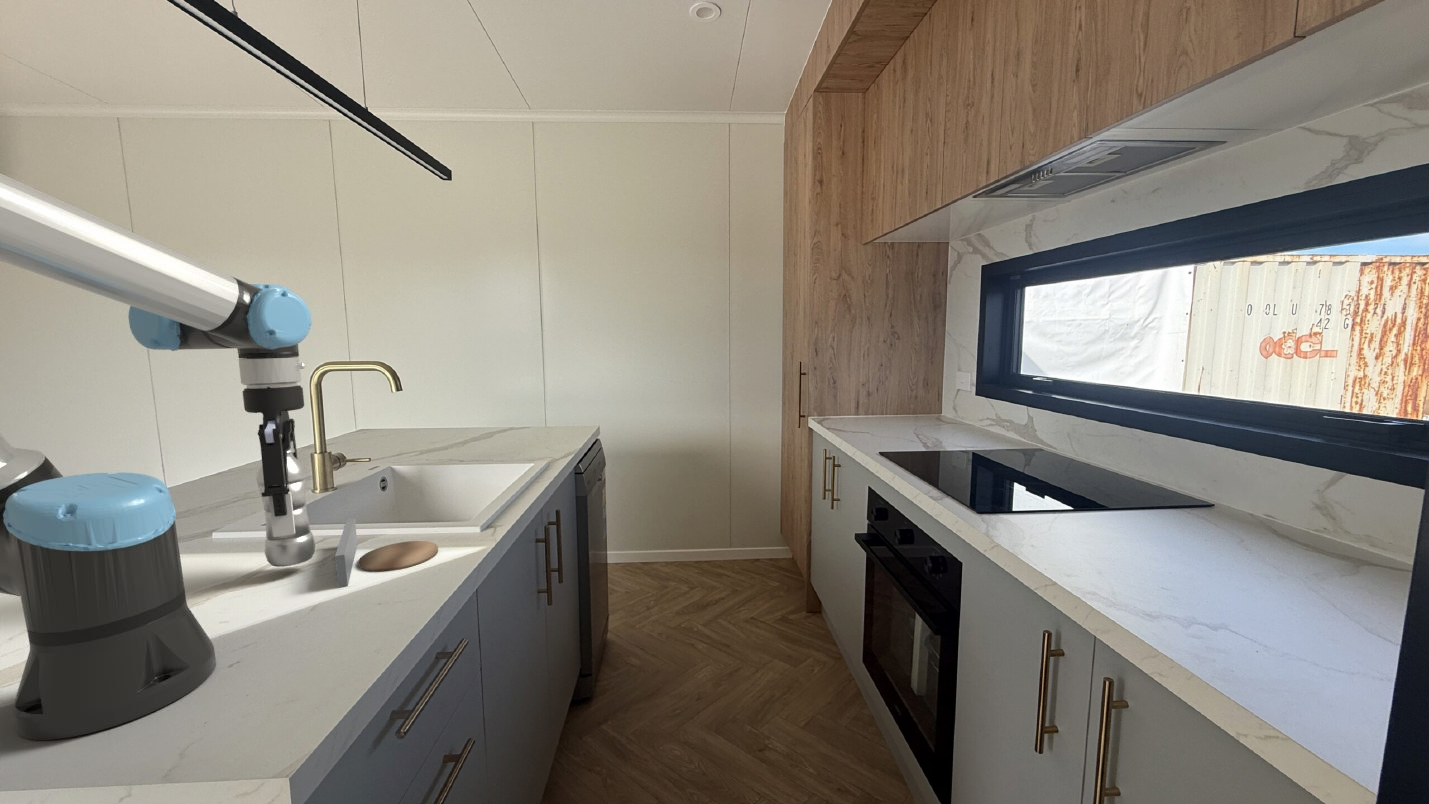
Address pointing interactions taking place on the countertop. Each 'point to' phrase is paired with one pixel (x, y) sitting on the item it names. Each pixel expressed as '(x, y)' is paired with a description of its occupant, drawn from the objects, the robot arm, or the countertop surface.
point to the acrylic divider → (346, 553)
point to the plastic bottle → (302, 542)
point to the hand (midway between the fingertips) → (288, 528)
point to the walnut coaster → (398, 556)
